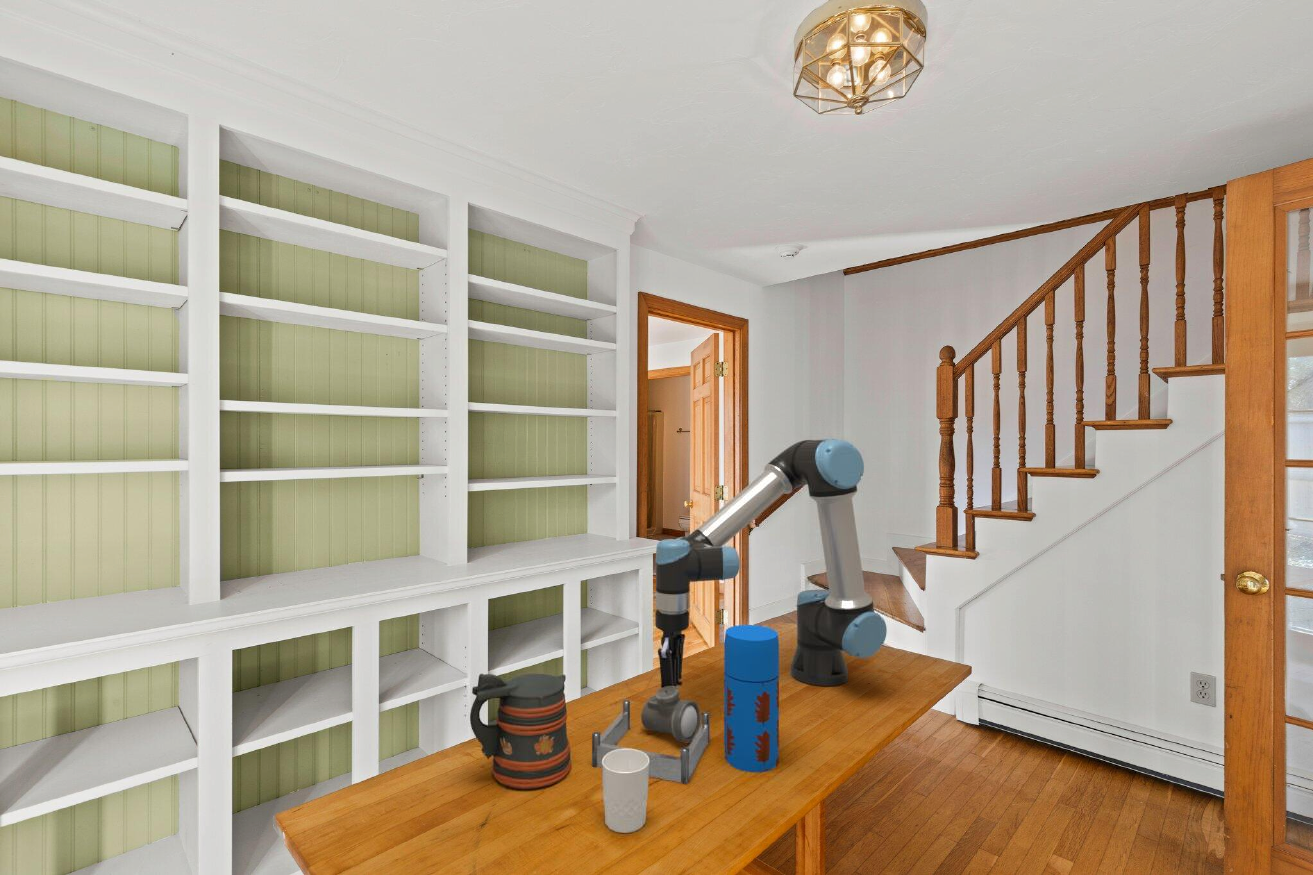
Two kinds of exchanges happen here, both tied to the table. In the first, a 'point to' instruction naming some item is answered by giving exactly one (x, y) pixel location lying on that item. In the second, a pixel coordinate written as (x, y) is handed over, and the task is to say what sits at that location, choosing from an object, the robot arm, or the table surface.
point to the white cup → (625, 789)
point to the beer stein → (524, 729)
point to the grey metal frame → (658, 763)
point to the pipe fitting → (671, 714)
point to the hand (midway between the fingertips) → (671, 715)
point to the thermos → (751, 697)
